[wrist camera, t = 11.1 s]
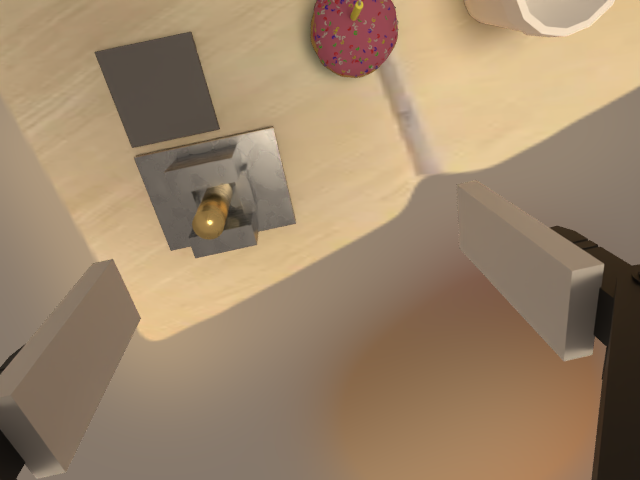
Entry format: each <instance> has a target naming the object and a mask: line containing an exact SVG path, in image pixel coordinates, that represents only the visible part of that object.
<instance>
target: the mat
mask: <svg viewBox="0 0 640 480" xmlns="http://www.w3.org/2000/svg"><path fill="white" fill-rule="evenodd" d="M95 55H96V57H97V60H98V62H99V65H100V67H101V70H102V72H103V75H104V78H105V80H106V83H107V85H108V88H109V90H110V93H111V95H112V98H113V100H114V103H115V105H116V108H117V111H118V113H119V116H120V118H121V121H122V123H123V126H124V128H125V131H126V133H127V136H128V138H129V141H130V144H131V146H132V148H134V147H139V146H144V145H148V144H153V143H158V142H162V141H167V140H172V139H176V138H181V137H186V136H190V135H195V134H200V133H204V132H209V131H214V130H218V129H220V128H219V125H218V121H217V118H216V115H215V111H214V108H213V104H212V101H211V98H210V94H209V91H208V87H207V84H206V81H205V77H204V74H203V70H202V67H201V63H200V60H199V57H198V53H197V50H196V46H195V43H194V40H193V36H192V33H191V32H187V33H183V34H178V35H173V36H168V37H164V38H159V39H154V40H149V41H145V42H140V43H135V44H131V45H126V46H121V47H116V48H112V49H107V50H102V51H97V52H95Z"/></svg>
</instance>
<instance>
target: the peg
mask: <svg viewBox="0 0 640 480" xmlns="http://www.w3.org/2000/svg"><path fill="white" fill-rule="evenodd" d="M232 195H233V191H232V188H231V186H230V185H229V184H224V185H219V186H214V187H210V188H207V190H206V192H205V194H204V196H203V199H202V201H201V203H200V205H199V208H198V210H197V212H196V214H195V216H194V219H193V221H192V227H193V230H194V232H195V233H196V234H197V235H198V236H199V237H201V238H203V239H208V240H211V239H215V238H217V237H219V236H220V235H221V234H222V232H223V229H224V225H225V222H226V218H227V214H228V210H229V206H230V203H231V199H232Z"/></svg>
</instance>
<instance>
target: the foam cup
mask: <svg viewBox="0 0 640 480" xmlns="http://www.w3.org/2000/svg"><path fill="white" fill-rule="evenodd" d="M614 1H615V0H464V3H465V5H466V8H467V10H468V12H469V15H470V16H472V17H473V18H474V19H476V20H477V21H478V22H481V23H484V24H489V25H494V26H498V27H503V28H508V29H513V30H518V31H522V32H523V33H524V34H526V35H531V36H541V37H566V36H568V35H571V34H573V33H576V32H578V31H580V30H583V29H585V28H588V27H590V26H591V25H592V24H593V23H594V22H595V21H596V20H598V19H599V18H600V17H601V16H602V15H603V14H604V13H605V12H606V11H607V10H608V9H609V8H610V7H611V6H612V5H613V3H614Z"/></svg>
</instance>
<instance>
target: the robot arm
mask: <svg viewBox="0 0 640 480" xmlns="http://www.w3.org/2000/svg"><path fill="white" fill-rule="evenodd" d="M457 204H458V205H457V206H458V228H459V248H460V249H461V251H462V252H463V253H464V254H465V255H466V256H467V257H468V258H469V259H470V260H471V261H472V262H473V264H474V265H475V266H476V267H477V268H478V269H479V270H480V271H481V272H482V273H483V274H484V276H485V277H486V278H487V279H488V280H489V281H490V282H491V283H492V284H493V285H494V286H495V287H496V288H497V290H498V291H499V292H500V293H501V294H502V295H503V296H504V297H505V298H506V299H507V300H508V301H509V303H510V304H511V305H512V306H513V307H514V308H515V309H516V310H517V311H518V312H519V313H520V314H521V316H522V317H523V318H525V320H526V321H527V322H528V323H529V324H530V325H531V326H532V327H533V328H534V329H535V331H536V332H538V334H539V335H540V336H541V337H542V338H543V339H544V340H545V341H546V342H547V344H548V345H549V346H550V347H551V348H552V349H553V350H554V351H555V352H556V353H557V354H558V355H559V357H560V358H561V359H562V360H563V361H566V360H571V359H575V358H580V357H585V356H589V355H592V354H593V346H594V339H595V336H596V337H597V338H598V339H599V340H600V341H601V342H602V343H603V344H604V345H606V346H607V348H606V354H605V361H604V367H603V374H602V380H603V381H602V389H601V399H600V408H599V417H598V425H597V435H596V445H595V453H594V462H593V471H592V480H640V265H633V266H631V265H630V264H628V263H627V262H625V261H623V260H622V259H620V258H618V257H617V256H615V255H613V254H612V253H610V252H608V251H607V250H605V249H604V248H602V247H598V245H597V244H595V243H594V242H592V241H590V240H589V241H588V239H587V238H585V237H584V236H582V235H581V234H579V233H577V232H576V231H573V230H570V229H566V228H563V227H560V226H554V227H551V228H549V227H547V226H546V225H544V224H543V223H541V222H539V221H538V220H536V219H535V218H533V217H532V216H530V215H528V214H527V213H526V212H524V211H523V210H521V209H519V208H518V207H517V206H515V205H514V204H512V203H510V202H509V201H507V200H506V199H504V198H503V197H501V196H500V195H498V194H497V193H495V192H494V191H492V190H491V189H489V188H488V187H486V186H485V185H483V184H481V183H480V182H479V181H477V180H475V181H470V182H465V183H461V184H457ZM140 319H141V318H140V315H139V313H138V311H137V309H136V307H135V305H134V303H133V301H132V298H131V296H130V294H129V292H128V290H127V288H126V286H125V284H124V281H123V279H122V277H121V275H120V273H119V271H118V269H117V267H116V264H115V262H114V260H113V259H111V260H107V261H102V262H97V263H93V264H92V265H91V266H90V267H89V269H88V270H87V271H86V272H85V273H84V275H83V276H82V277H81V278H80V280H79V281H78V282H77V283H76V284H75V285H74V287H73V288H72V289H71V290H70V291H69V293H68V294H67V295H66V296H65V297H64V299H63V300H62V301H61V302H60V303H59V305H58V306H57V307H56V308H55V309H54V311H53V312H52V313H51V314H50V316H49V317H48V318H47V319H46V320H45V322H44V323H43V324H42V325H41V326H40V328H39V329H38V330H37V331H36V332H35V334H34V335H33V336H32V337H31V338H30V340H29V341H28V342H27V343H26V344H25V345H23V346H22V347H21V348H20V349H18V350H17V351H16V352H15V353H13V354H12V355H11V356H10V357H9V358H8V359H7V360H6V361H5V362H4V364H3V365H2V366H1V367H0V480H17V479H16V478H17V476H18V474H19V473H20V471H21V469H22V467H23V466H24V464H25V465H26V466H27V467H28V469H29V470H30V471H31V473H32V474H33V475H34V476H35V478H36V479H38V478H43V477H48V476H52V475H56V474H61V473H65V472H66V471H67V469H68V467H69V465H70V463H71V461H72V459H73V457H74V455H75V453H76V451H77V448H78V447H79V445H80V442H81V440H82V438H83V436H84V434H85V432H86V430H87V428H88V426H89V424H90V422H91V420H92V418H93V416H94V414H95V412H96V410H97V407H98V405H99V403H100V401H101V399H102V397H103V395H104V393H105V391H106V389H107V387H108V385H109V383H110V381H111V379H112V377H113V374H114V373H115V370H116V368H117V366H118V364H119V362H120V360H121V358H122V356H123V354H124V352H125V350H126V348H127V346H128V344H129V342H130V340H131V337H132V335H133V333H134V331H135V329H136V327H137V325H138V323H139V321H140Z"/></svg>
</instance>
